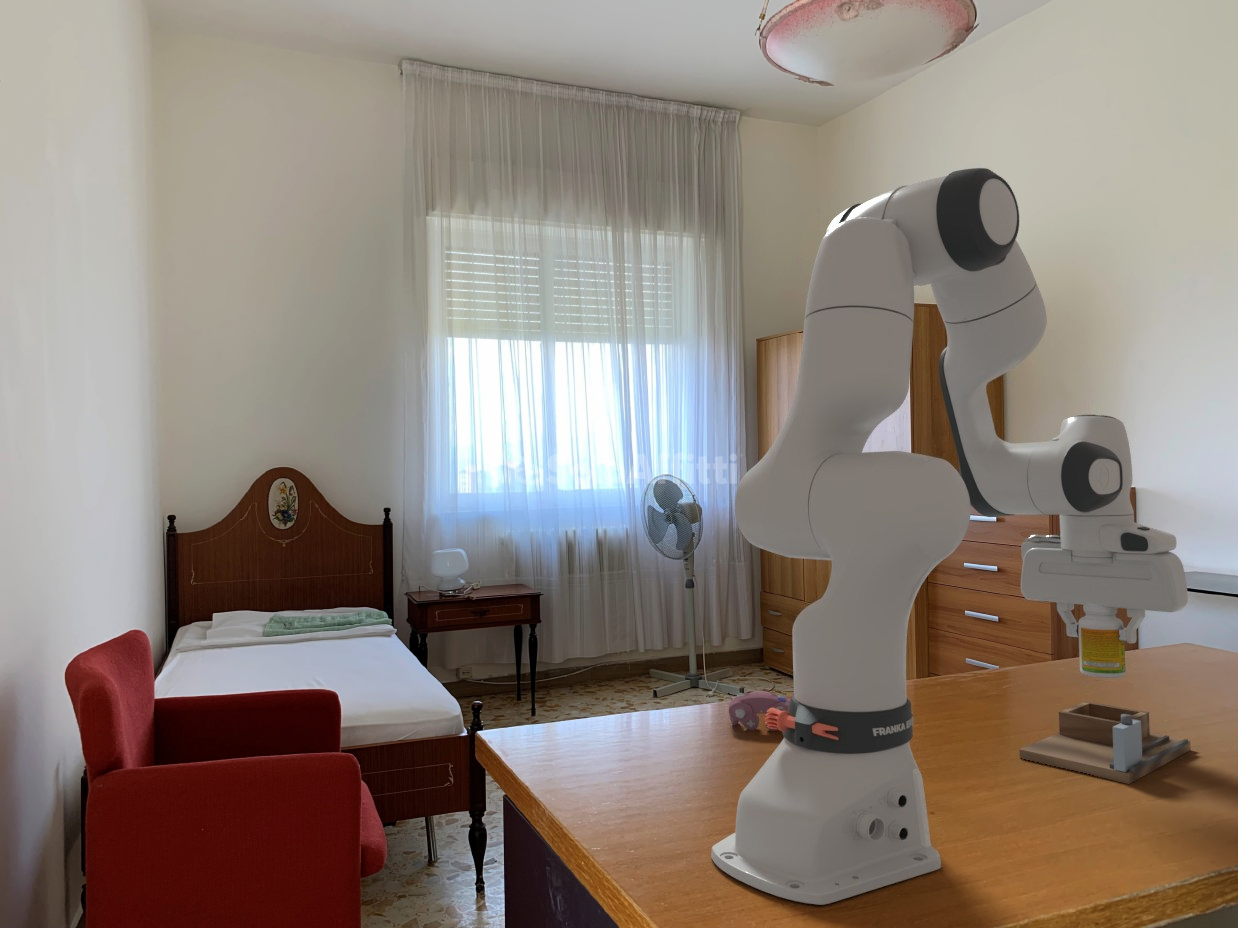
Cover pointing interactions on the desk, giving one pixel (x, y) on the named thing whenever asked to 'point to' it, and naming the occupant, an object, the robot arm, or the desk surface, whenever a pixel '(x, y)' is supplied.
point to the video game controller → (755, 707)
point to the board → (1101, 743)
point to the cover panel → (1127, 743)
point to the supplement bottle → (1101, 642)
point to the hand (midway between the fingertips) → (1101, 639)
